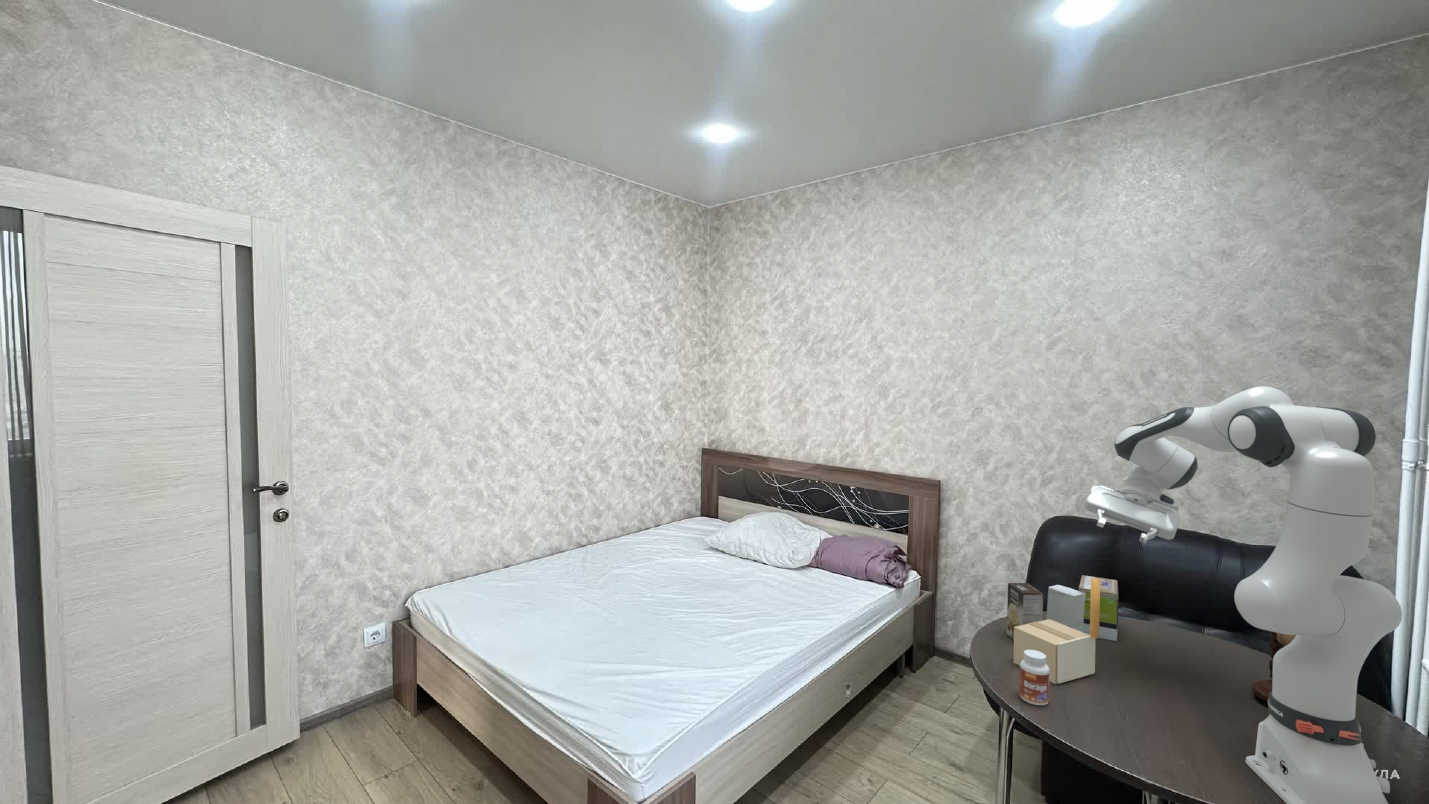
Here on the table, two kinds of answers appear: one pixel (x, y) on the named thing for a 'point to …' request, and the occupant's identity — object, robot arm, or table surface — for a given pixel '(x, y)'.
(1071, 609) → the skincare box
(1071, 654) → the cleaver with orange handle
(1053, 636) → the carton
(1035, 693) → the pill bottle
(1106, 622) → the tea box
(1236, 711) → the table surface
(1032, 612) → the coffee box
